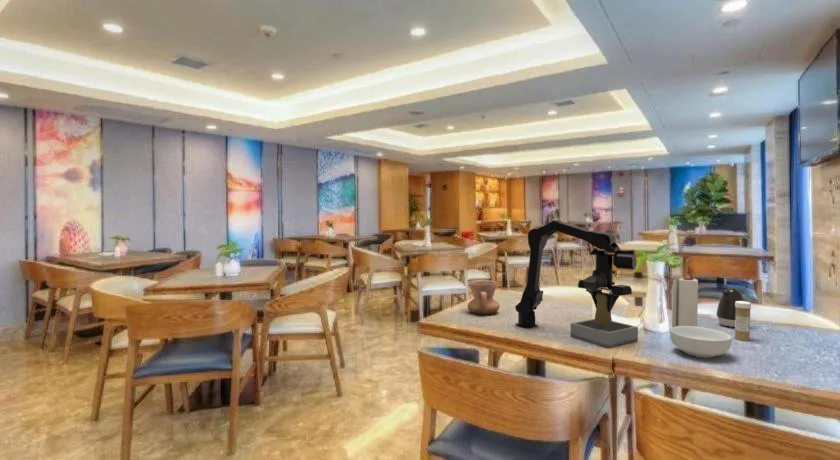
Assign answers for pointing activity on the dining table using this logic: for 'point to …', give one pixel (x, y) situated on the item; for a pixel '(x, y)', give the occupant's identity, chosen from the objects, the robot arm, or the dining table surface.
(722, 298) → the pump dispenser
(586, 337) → the tray
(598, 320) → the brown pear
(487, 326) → the dining table surface
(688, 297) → the grey tall block
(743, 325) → the sprinkles bottle
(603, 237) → the robot arm
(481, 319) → the dining table surface
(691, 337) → the cereal bowl
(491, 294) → the ceramic jug
